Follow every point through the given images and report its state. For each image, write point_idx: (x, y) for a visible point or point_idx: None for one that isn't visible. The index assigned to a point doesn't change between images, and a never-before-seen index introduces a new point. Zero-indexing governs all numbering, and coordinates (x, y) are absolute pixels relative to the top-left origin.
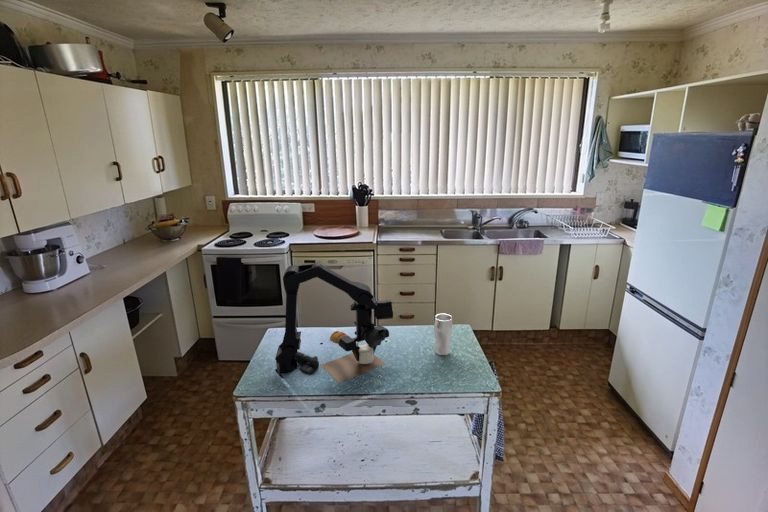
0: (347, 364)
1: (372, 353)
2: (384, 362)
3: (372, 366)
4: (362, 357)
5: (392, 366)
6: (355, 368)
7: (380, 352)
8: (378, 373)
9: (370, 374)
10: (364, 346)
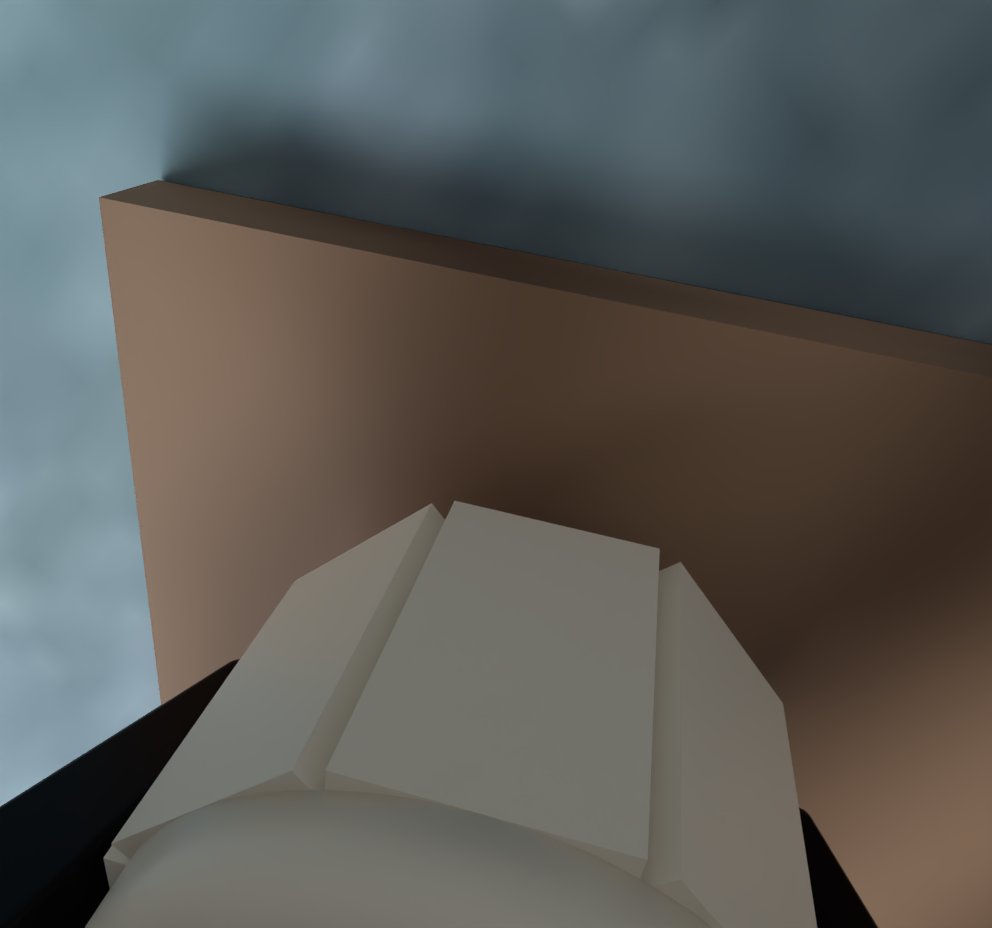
0: (857, 875)
1: (280, 748)
2: (112, 279)
3: (508, 402)
4: (775, 878)
5: (9, 37)
6: (901, 677)
7: (7, 631)
8: (551, 79)
9: (757, 234)
10: None
